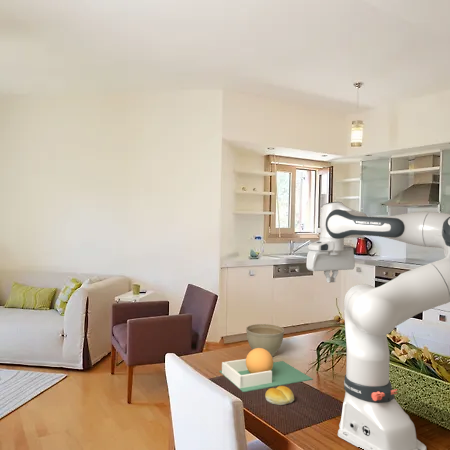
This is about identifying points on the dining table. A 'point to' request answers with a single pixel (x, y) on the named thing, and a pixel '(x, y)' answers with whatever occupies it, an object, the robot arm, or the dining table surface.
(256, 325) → the planter bowl
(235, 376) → the white open box
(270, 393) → the bread roll
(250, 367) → the ball
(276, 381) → the putting mat
